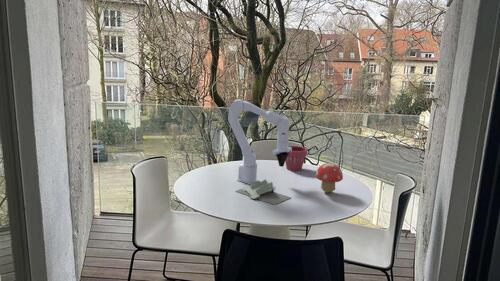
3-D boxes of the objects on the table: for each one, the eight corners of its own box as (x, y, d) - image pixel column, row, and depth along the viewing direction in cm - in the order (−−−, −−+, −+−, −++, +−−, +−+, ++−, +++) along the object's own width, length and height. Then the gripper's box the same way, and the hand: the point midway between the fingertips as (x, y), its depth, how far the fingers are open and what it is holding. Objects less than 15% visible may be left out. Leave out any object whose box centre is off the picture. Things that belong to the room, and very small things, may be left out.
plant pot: (279, 170, 222) (280, 149, 219) (284, 164, 235) (285, 144, 232) (303, 173, 218) (305, 152, 215) (307, 167, 231) (308, 147, 228)
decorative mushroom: (321, 198, 179) (323, 167, 176) (309, 188, 191) (311, 160, 188) (346, 196, 182) (349, 166, 179) (333, 187, 195) (335, 159, 192)
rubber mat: (235, 191, 183) (235, 190, 183) (253, 185, 193) (253, 185, 193) (274, 205, 168) (274, 204, 168) (291, 198, 177) (291, 197, 177)
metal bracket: (265, 175, 189) (278, 185, 176) (268, 186, 191) (281, 196, 178) (240, 185, 185) (251, 196, 172) (242, 196, 187) (253, 207, 173)
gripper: (280, 144, 186) (278, 170, 189) (297, 140, 196) (295, 165, 199) (269, 141, 190) (268, 167, 193) (286, 138, 201) (284, 162, 204)
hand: (281, 166), depth 196 cm, fingers closed
